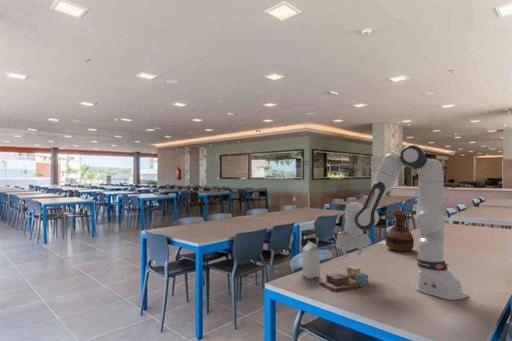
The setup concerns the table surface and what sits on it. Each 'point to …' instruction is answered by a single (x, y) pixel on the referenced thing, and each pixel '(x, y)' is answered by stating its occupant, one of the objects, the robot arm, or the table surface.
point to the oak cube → (352, 271)
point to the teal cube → (361, 278)
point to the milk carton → (311, 261)
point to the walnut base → (338, 287)
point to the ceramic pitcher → (399, 234)
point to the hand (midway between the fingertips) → (352, 255)
